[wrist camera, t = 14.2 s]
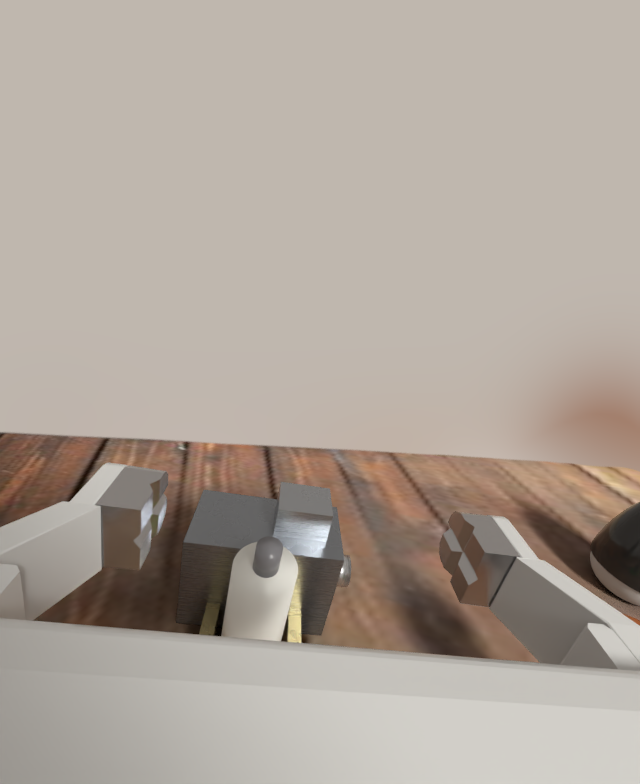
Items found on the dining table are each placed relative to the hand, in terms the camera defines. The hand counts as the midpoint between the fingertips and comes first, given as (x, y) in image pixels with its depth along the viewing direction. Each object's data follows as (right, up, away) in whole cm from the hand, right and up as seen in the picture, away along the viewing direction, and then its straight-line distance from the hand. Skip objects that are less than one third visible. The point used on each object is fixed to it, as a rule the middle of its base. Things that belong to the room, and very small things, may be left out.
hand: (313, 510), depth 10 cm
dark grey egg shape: (+43, -25, +41) cm, 64 cm away
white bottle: (-6, -21, +21) cm, 31 cm away
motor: (-6, -20, +25) cm, 32 cm away
